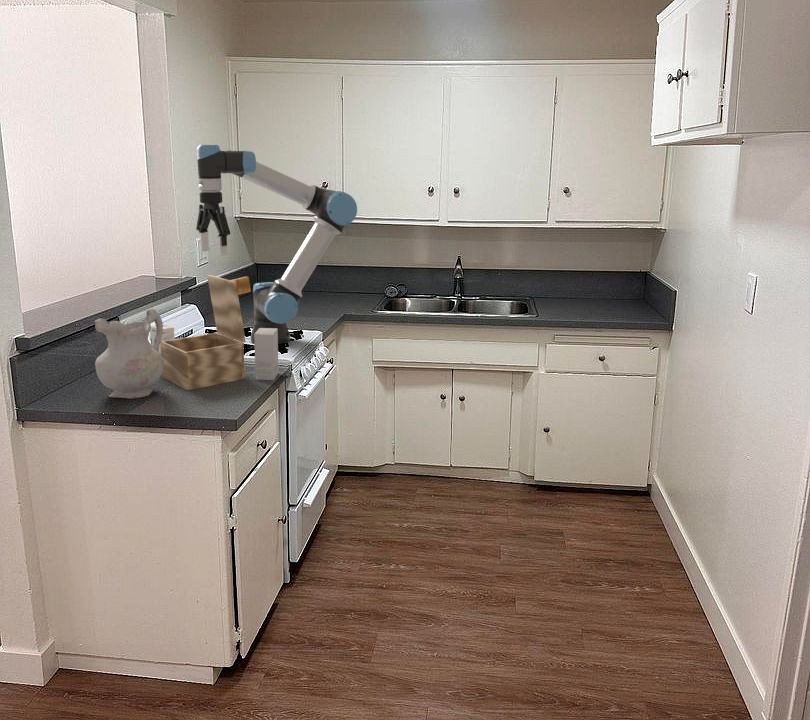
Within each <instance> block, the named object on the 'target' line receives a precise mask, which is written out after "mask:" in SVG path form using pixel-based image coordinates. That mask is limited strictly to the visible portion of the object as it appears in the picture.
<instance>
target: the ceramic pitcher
mask: <svg viewBox="0 0 810 720" xmlns="http://www.w3.org/2000/svg"><path fill="white" fill-rule="evenodd" d="M157 311H158V310H156V309H154V308H151V309H147V310H146V316H145V317H144V319H143V320H142V321H140V320H139V321H131V322H129V323H126V324H125V323H123V322H120V321H117V320H113V321H109V322H108V321H107V320H106V319H105V318H104V319H103V318H97V319H95V320H94V324H95V325H94V326H95V330H96V332H97V333H101V334H104V335H105V337H106V340H107V343H108V345H107V348H106V349H105V350H104V351H103V353H101V354H100V355H99V356H98V357H97V358H96V359H95V364H94V366H95V372H96V376H97V377H98V379H99V381H100V382H101V383H102V385H103V386H104V387H106V388H108V389H111V390H113V391H112V393H110V394H109V395H108V397H109V398H117V399H118V398H121V399H129V400H133V399H140V398H146V397H145V396H147V397H148V396H149V395H151V394H152V393H153V392H154V391H153V389H152V388H151V387H152V386H154V385H156V384H157V383H158V381H159V380H160V379H161V377H162V376H163V370H164V360H163V357H162V355H161V354H160V353H159V350H158V349H159V344H160V342H161V338H162V332H163V325H164V324H163V323H164V322H163V319H162V317H161V315H159V313H158V312H157ZM153 322H154V323H155V326H156V335H155V338H154V344H153V348H152V347H151V344H150V343H149V336H150V329H151V327H152V323H153Z"/></svg>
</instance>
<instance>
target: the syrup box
mask: <svg viewBox="0 0 810 720" xmlns="http://www.w3.org/2000/svg"><path fill="white" fill-rule="evenodd" d="M155 335H156V325H155V326H151V329H150V332H149V336H150V337H149V338H150V346H151V347H152V348H153V344H154V338H155ZM174 339H176V338H175V328H174V327H173V326H171V325H168V324H163V332H162V338H161V341H167V340H174ZM158 350H159V353H160V354H161V347H160V344H159V349H158Z"/></svg>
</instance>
